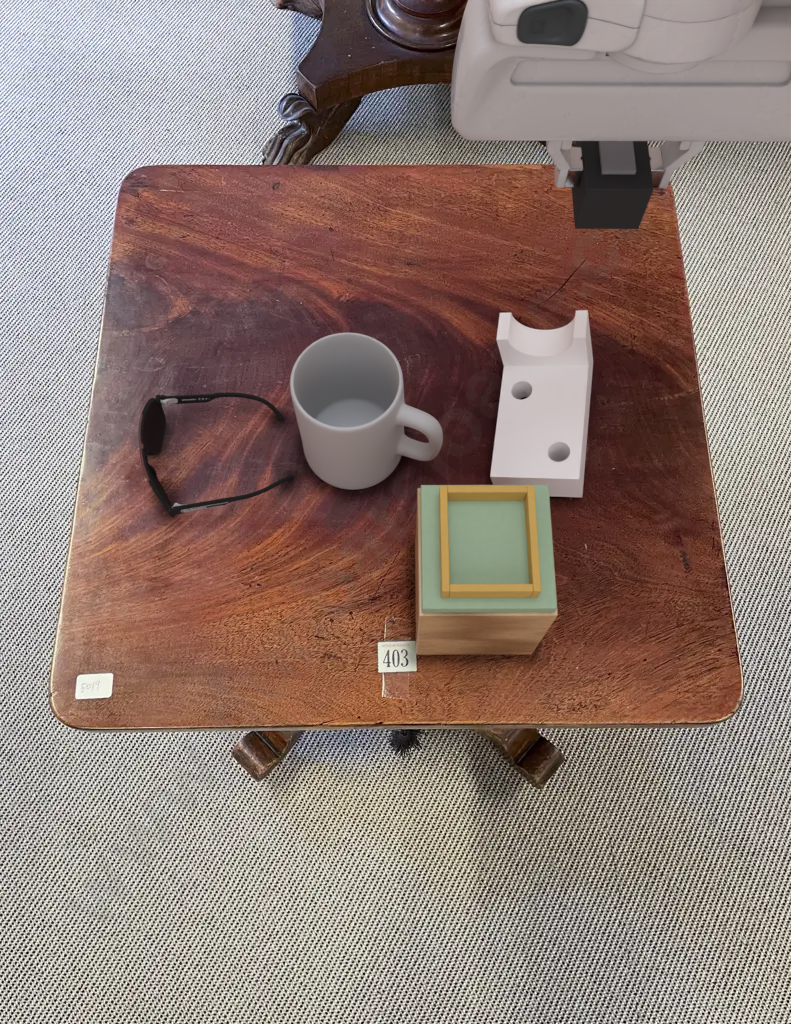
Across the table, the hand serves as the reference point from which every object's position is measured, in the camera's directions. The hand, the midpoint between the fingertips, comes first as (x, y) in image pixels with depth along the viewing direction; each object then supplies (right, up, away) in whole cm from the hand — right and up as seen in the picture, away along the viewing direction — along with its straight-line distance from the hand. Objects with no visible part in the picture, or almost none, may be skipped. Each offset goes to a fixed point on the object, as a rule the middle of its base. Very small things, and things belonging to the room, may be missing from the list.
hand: (608, 180), depth 53 cm
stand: (-7, -27, +15) cm, 32 cm away
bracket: (-1, -13, +21) cm, 25 cm away
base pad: (-7, -23, +4) cm, 24 cm away
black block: (0, -1, +2) cm, 2 cm away
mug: (-15, -15, +20) cm, 30 cm away
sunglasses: (-28, -16, +20) cm, 38 cm away
